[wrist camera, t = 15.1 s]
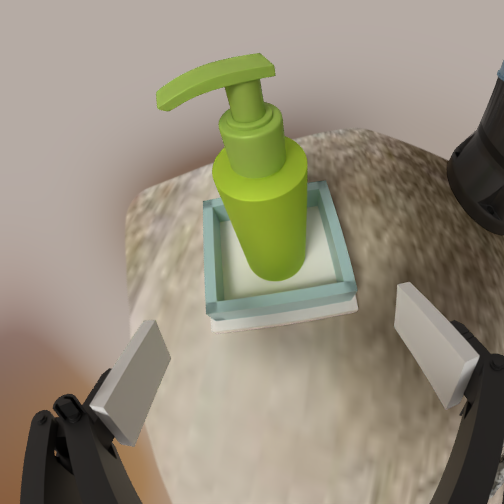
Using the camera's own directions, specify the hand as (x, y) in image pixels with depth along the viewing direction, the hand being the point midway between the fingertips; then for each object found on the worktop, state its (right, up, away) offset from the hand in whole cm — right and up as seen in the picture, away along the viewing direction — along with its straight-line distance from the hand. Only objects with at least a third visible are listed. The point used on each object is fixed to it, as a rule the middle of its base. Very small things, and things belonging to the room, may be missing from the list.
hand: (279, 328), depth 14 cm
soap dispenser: (+1, +3, +14) cm, 15 cm away
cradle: (+1, +3, +15) cm, 16 cm away
